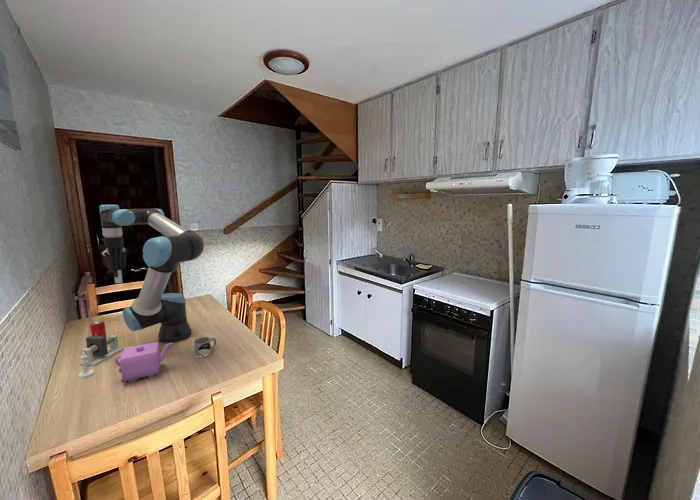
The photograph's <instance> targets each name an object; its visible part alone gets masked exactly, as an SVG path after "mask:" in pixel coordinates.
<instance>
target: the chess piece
mask: <svg viewBox="0 0 700 500" xmlns="http://www.w3.org/2000/svg"><path fill="white" fill-rule="evenodd" d="M81 353H82V354H83V355H81V356H80V360H81V362H80V363H81V364H83V365H82V367H83V368H82V371H81V372H80V373H78V378H79V379H85V378H89V377H91V376H93V375H94V374H95V369H89V366H87V362H88V360H86V358H87V355H85V354H84V352H82V351H81Z"/></svg>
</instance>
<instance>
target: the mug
mask: <svg viewBox="0 0 700 500" xmlns="http://www.w3.org/2000/svg"><path fill="white" fill-rule="evenodd" d="M212 341H213V345H211V342H212ZM193 347H194V356H195V355H196V356H204V355H207V354H209V353H210V352H211V353H212V350H213V349H214V348H216V347H217V338H216V337H211V338H210V337H207V336H202V337H199V338H195V339H194V341H193ZM211 353H210V354H211ZM210 354H209V355H210ZM196 356H195V357H196ZM207 356H208V355H207Z"/></svg>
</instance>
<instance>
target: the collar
mask: <svg viewBox="0 0 700 500" xmlns="http://www.w3.org/2000/svg"><path fill="white" fill-rule="evenodd" d="M106 338H107V336H106V337H102V336H92V335H90V336H88V337H86V338H85V340H86V347H87V348H90V347H91V346H93V345H95V344H98V347H99V350H97V351H95V352H92V354H93V356H102V357H103V356H105V355H107V354H108V350H107V348H108V344H107V343H106Z"/></svg>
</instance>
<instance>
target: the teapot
mask: <svg viewBox="0 0 700 500" xmlns="http://www.w3.org/2000/svg"><path fill="white" fill-rule="evenodd" d="M159 343H160V342H159V341H154V342H150V343H149V342H148V343H143V344H138V345H134V346H129V347H124V348H123V350H122V353H121V354H117V355H116V357H115V358H114V364H116V366H117V367H119V368H118V372H119V374H121V381H122V382H127V381H128V382H129V383H134V382H136V381H137V380H138V378H139V379H140V378H143V377H147V378H149V377H151V378H153V377H152V376H154V375H155V376H156V375H157V374H160V368H161V367H160V366H161V362H162V361H163V360H164V359H165V357H166V354H167V351H168V349H169V347H170V346H171V345H172V344H174V343H165V344H164V346H163V348H162V351H161V352H160V345H159ZM119 358H120V359H119ZM155 376H154V377H155ZM149 379H150V378H149ZM135 380H136V381H135Z"/></svg>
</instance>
